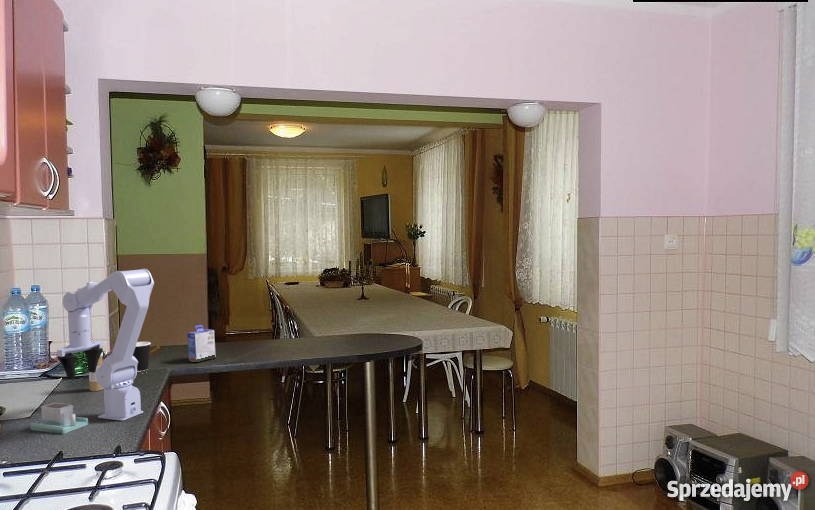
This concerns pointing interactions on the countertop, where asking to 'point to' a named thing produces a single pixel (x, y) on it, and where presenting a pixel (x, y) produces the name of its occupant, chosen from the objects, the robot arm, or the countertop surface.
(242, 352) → the countertop surface
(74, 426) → the teal base with pegs
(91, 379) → the sprinkles bottle
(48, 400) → the countertop surface
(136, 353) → the dixie cup
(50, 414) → the drive block
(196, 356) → the ink cartridge box
